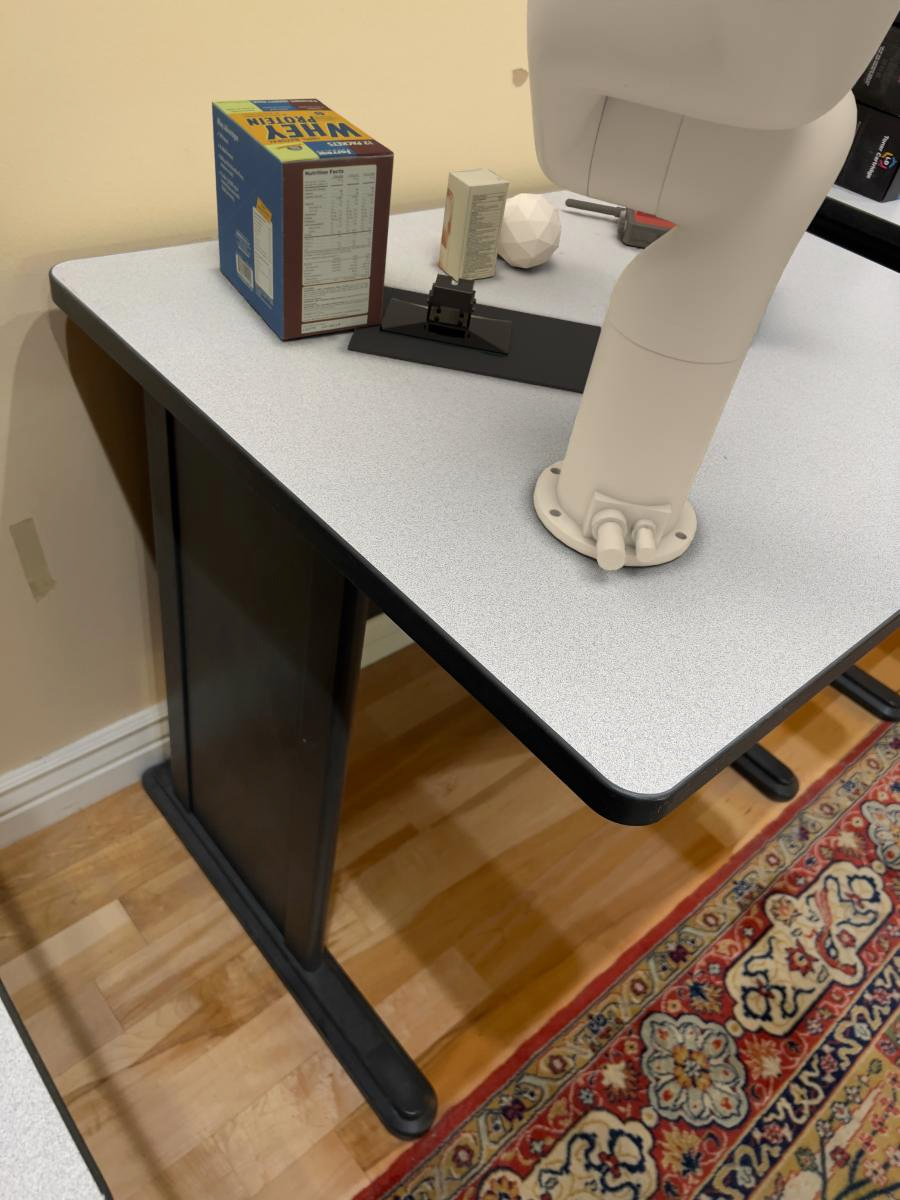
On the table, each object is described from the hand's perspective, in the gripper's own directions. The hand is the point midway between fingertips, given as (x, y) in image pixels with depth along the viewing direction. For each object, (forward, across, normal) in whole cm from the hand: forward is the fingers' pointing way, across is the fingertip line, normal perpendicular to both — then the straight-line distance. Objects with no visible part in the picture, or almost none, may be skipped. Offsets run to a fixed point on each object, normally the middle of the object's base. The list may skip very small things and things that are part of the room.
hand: (760, 79), depth 69 cm
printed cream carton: (+26, -20, +17) cm, 37 cm away
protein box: (+26, -36, +4) cm, 44 cm away
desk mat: (+26, -17, +2) cm, 31 cm away
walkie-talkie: (+26, +2, +37) cm, 45 cm away
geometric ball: (+26, -14, +22) cm, 36 cm away
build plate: (+26, -21, +2) cm, 33 cm away
